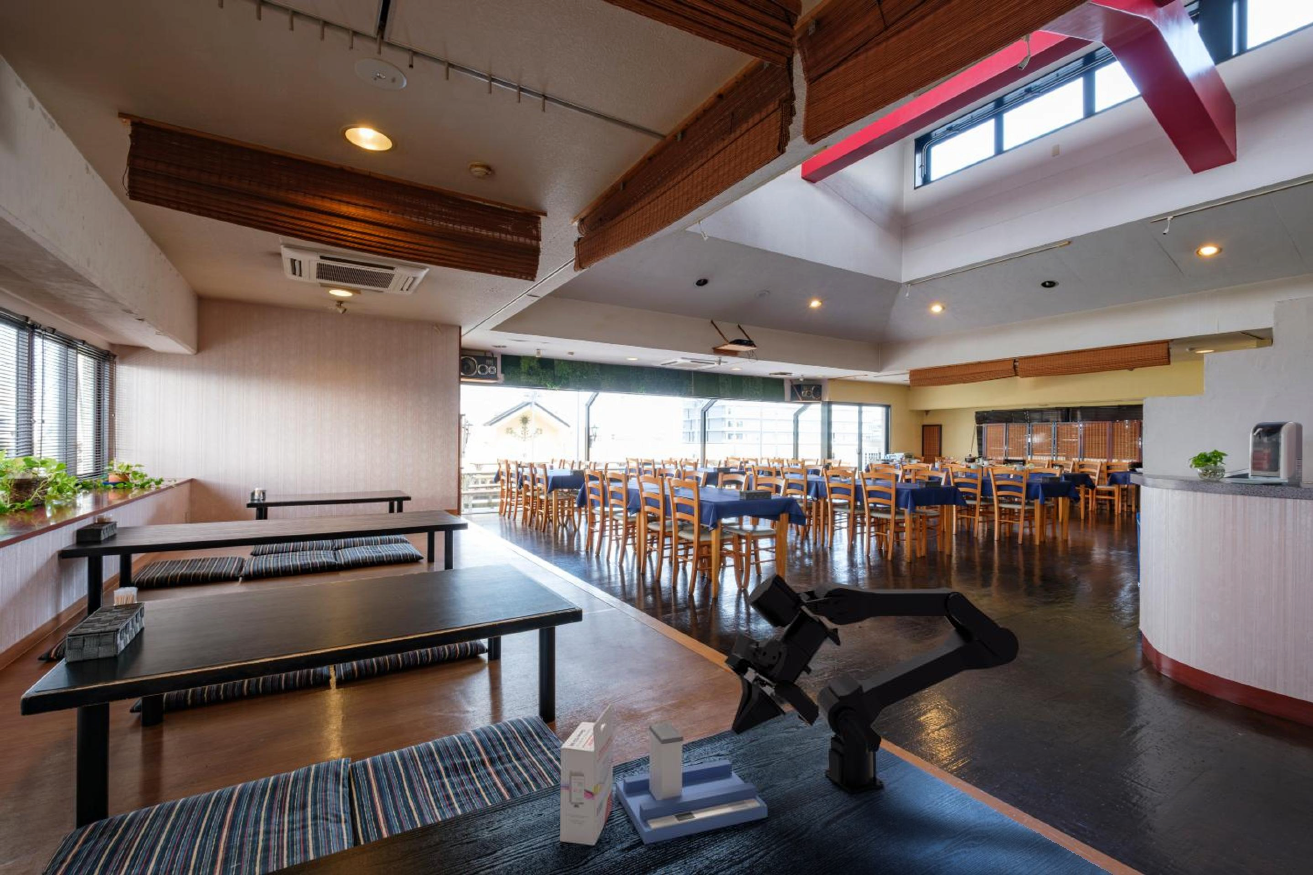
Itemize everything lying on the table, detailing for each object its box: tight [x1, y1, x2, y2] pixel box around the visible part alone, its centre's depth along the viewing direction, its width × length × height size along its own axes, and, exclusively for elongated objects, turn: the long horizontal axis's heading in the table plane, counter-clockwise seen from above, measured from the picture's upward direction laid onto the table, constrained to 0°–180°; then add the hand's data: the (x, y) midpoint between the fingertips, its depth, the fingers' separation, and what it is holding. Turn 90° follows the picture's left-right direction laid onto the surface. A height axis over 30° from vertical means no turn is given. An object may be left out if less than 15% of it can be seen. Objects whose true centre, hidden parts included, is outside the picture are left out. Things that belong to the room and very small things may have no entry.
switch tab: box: [648, 721, 684, 801], centre depth 81 cm, size 3×5×9 cm, turn 21°
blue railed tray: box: [615, 759, 768, 845], centre depth 82 cm, size 18×13×3 cm
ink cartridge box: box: [559, 703, 614, 846], centre depth 77 cm, size 9×5×15 cm, turn 168°
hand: (734, 731), depth 85 cm, fingers closed
